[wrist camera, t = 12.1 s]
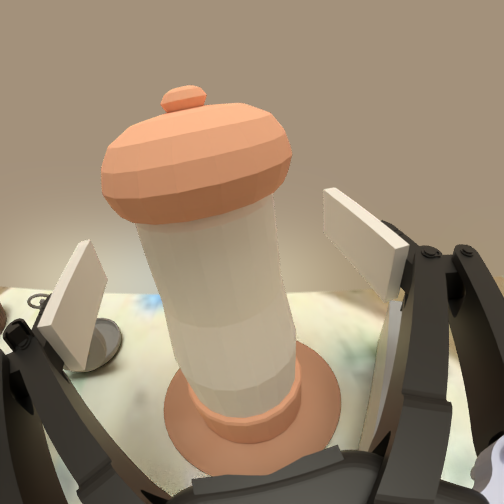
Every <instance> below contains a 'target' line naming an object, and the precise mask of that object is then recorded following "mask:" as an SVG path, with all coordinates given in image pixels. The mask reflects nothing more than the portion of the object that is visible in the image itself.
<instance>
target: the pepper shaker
mask: <svg viewBox="0 0 504 504" xmlns="http://www.w3.org/2000/svg"><path fill="white" fill-rule="evenodd" d="M206 96H207V95H206V94H205V92H204V91H203V90H202V89H201V88H200V87H196V86H192V85H190V86H184V87H178V88H175V89H172V90H170V91H169V92H167V93H166V94H165V95H164V96H163V99H162V102H161V106H162V107H163V109H164V110H165V111H166V112H167V113H166V114H163V115H160V116H157V117H154V118H151V119H148V120H145V121H142V122H140V123H137V124H134V125H132V126H130V127H129V128H128V129H127V130H125V131H124V132H123V133H122V134H121V135H120V136H119V137H118V138H117V139H116V140H114V141H113V142H112V143H111V144H110V145H109V146H108V148H107V151H106V154H105V157H104V160H103V163H102V167H101V184H102V194H103V196H104V197H105V199H106V200H107V202H108V203H109V205H110V206H111V207H112V209H113V210H114V211H116V213H117V214H118V215H119V216H120V217H122V218H124V219H126V220H128V221H130V222H132V223H135V225H136V228H137V231H138V235H139V238H140V241H141V243H142V247H143V250H144V253H145V256H146V258H147V261H148V264H149V267H150V270H151V273H152V276H153V278H154V281H155V284H156V287H157V289H158V292H159V294H160V297H161V300H162V302H163V307H164V312H165V317H166V322H167V326H168V331H169V335H170V339H171V344H172V348H173V352H174V356H175V359H176V361H177V363H178V365H179V367H180V369H181V371H182V373H183V374H184V376H185V378H186V379H187V381H188V390H189V395H190V397H191V399H192V401H193V403H194V404H195V406H196V408H197V410H198V411H199V413H200V414H201V416H202V418H203V419H204V421H205V422H206V424H207V425H208V427H209V428H210V429H211V430H212V431H214V432H215V433H216V434H217V435H219V436H220V437H222V438H224V439H227V440H229V441H232V442H235V443H246V444H255V443H259V442H263V441H267V440H271V439H273V438H274V437H276V436H278V435H279V434H281V433H283V432H284V431H286V429H287V428H288V427H289V426H290V425H291V424H292V423H293V421H294V420H295V419H296V417H297V414H298V412H299V409H300V406H301V366H300V364H299V361H298V359H297V357H296V329H295V325H294V322H293V318H292V314H291V310H290V307H289V303H288V299H287V295H286V292H285V289H284V284H283V281H282V277H281V270H280V259H279V247H278V236H277V227H276V216H275V206H274V197H273V193H274V192H275V191H276V190H277V189H278V188H279V186H280V185H281V184H282V183H283V182H284V180H285V177H286V175H287V173H288V170H289V166H290V161H291V157H292V150H291V146H290V143H289V141H288V138H287V135H286V132H285V130H284V128H283V127H282V126H281V125H280V124H279V123H278V121H277V120H276V119H275V118H274V117H273V115H272V114H271V113H270V112H267V111H264V110H261V109H259V108H256V107H253V106H250V105H247V104H244V103H231V104H217V105H206V106H203V105H204V102H205V99H206Z"/></svg>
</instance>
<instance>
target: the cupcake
mask: <svg viewBox="0 0 504 504" xmlns="http://www.w3.org/2000/svg"><path fill="white" fill-rule="evenodd" d="M6 322H7V318H6V314H5V312H4V310H3V308H2V305H1V303H0V334H1V333H2V331H3V329H4V327H5V325H6Z"/></svg>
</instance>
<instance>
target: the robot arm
mask: <svg viewBox="0 0 504 504" xmlns="http://www.w3.org/2000/svg"><path fill="white" fill-rule="evenodd" d="M323 208H324V209H323V215H324V219H323V223H324V224H323V233H324V234H325V235H326V236H327V237H328V238H329V239H330V240H331V241H332V243H333V244H334V245H335V246H336V247H337V248H338V249H339V250H340V251H341V253H342V254H343V255H344V256H345V257H346V258H347V259H348V260H349V262H350V263H351V264H352V265H353V266H354V267H355V269H356V270H357V271H358V272H359V273H360V274H361V276H362V277H363V278H364V279H365V280H366V281H367V283H368V284H369V285H370V286H371V287H372V289H373V290H374V291H375V292H376V293H377V295H378V296H379V297H380V298H381V299H382V301H383V302H384V303H385V302H387V301H390V300H393V299H396V298H398V294H399V290H400V287H401V288H402V289H403V290H404V291H405V295H404V299H403V302H402V306H401V309H400V311H402V316H401V323H400V330H399V336H398V343H397V348H396V354H395V359H394V364H393V369H392V374H391V379H390V383H389V387H388V392H387V396H386V400H385V404H384V407H383V411H382V415H381V418H380V422H379V425H378V428H377V431H376V434H375V436H374V438H373V440H372V442H371V445H370V447H369V450H368V452H367V451H360V450H343V451H340V449H339V447H338V445H336V446H333V447H330V448H327V449H325V450H322V451H319V452H316V453H313V454H310V455H306V456H303V457H301V458H300V459H298V460H296V461H294V462H293V463H291V464H289V465H287V466H285V467H283V468H281V469H279V470H277V471H276V472H274V473H272V474H269V475H229V474H227V475H220V476H213V477H206V478H197V479H192V485H193V486H191V487H188V488H186V489H184V490H182V491H180V492H179V493H177V494H176V495H174V496H173V497H171V496H170V495H168V494H167V493H166V492H165V491H163V490H162V489H160V488H159V487H158V486H156V485H155V484H154V483H153V482H152V481H151V480H150V479H149V478H148V477H147V476H146V475H145V474H144V473H143V472H142V471H141V470H140V469H139V468H138V467H137V466H136V465H135V464H134V463H133V462H132V461H131V460H130V459H129V458H128V457H127V455H126V454H125V453H124V452H123V451H122V450H121V449H120V447H119V446H118V445H117V444H116V443H115V442H114V440H113V439H112V438H111V437H110V436H109V434H108V433H107V432H106V431H105V429H104V428H103V427H102V425H101V424H100V423H99V422H98V420H97V419H96V418H95V416H94V415H93V413H92V412H91V411H90V409H89V408H88V407H87V405H86V404H85V402H84V401H83V399H82V398H81V396H80V395H79V393H78V392H77V390H76V389H75V387H74V386H73V384H72V383H71V381H70V379H69V378H68V376H67V375H66V374H65V372H64V371H63V366H64V363H65V365H66V366H67V367H68V368H69V369H70V371H71V372H72V371H83V370H85V367H86V362H87V357H88V353H89V348H90V344H91V339H92V335H93V331H94V327H95V323H96V319H97V315H98V312H99V308H100V304H101V301H102V297H103V294H104V290H105V287H106V284H107V281H108V279H107V277H106V275H105V272H104V270H103V268H102V266H101V263H100V261H99V259H98V256H97V254H96V251H95V249H94V247H93V244H92V242H91V239H90V240H86V241H82V242H79V244H78V245H77V247H76V249H75V251H74V253H73V254H72V256H71V258H70V260H69V261H68V263H67V265H66V267H65V269H64V271H63V273H62V275H61V277H60V279H59V281H58V283H57V285H56V287H55V289H54V291H53V293H51V294H50V295H49V296H48V297H47V299H46V300H45V301H44V303H43V305H42V307H41V310H40V312H39V314H38V315H39V316H37V318H36V321H35V323H34V325H33V328H32V330H31V329H30V328H29V326H28V325H27V323H26V322H25V321H24V320H23V319H20V318H19V319H16V320H14V321H13V322H11V323H10V324H9V325H8V326H7V327H6V329H5V331H4V333H3V339H4V340H5V342H6V343H7V344H8V346H9V347H10V348H11V349H12V351H13V352H12V353H9V354H7V355H5V354H4V352H3V351H2V350H1V349H0V504H68V502H67V500H66V498H65V495H64V493H63V490H62V488H61V485H60V482H59V480H58V477H57V474H56V471H55V468H54V465H53V462H52V459H51V455H50V452H49V449H48V445H47V441H46V438H45V434H44V430H43V426H44V428H45V430H46V432H47V434H48V436H49V437H50V439H51V441H52V443H53V445H54V447H55V448H56V450H57V452H58V454H59V455H60V457H61V459H62V460H63V462H64V463H65V465H66V467H67V468H68V470H69V471H70V473H71V474H72V476H73V477H74V479H75V480H76V482H77V484H78V485H79V489H78V490H77V495H78V497H79V499H80V500H81V502H82V503H83V504H504V297H503V295H502V293H501V292H500V290H499V288H498V286H497V284H496V282H495V280H494V279H493V277H492V275H491V273H490V272H489V270H488V268H487V267H486V265H485V263H484V262H483V260H482V258H481V257H480V255H479V254H478V252H477V251H476V250H475V249H474V248H472V247H471V246H468V245H457V246H455V249H454V252H453V255H442V253H441V252H440V251H439V250H438V249H436V248H434V247H431V246H418V245H417V244H416V243H415V242H414V241H412V240H411V239H410V238H409V237H407V236H406V235H405V234H404V233H403V232H401V231H400V230H398V229H397V228H396V227H395V226H394V225H392V224H390V223H388V222H385V221H383V220H382V221H380V220H378V219H377V218H376V217H374V216H373V215H372V214H370V213H369V212H368V211H366V210H365V209H364V208H363V207H361V206H360V205H359V204H357V203H356V202H355V201H353V200H352V199H350V198H349V197H348V196H346V195H345V194H343V193H342V192H341V191H339V190H338V189H337V188H329V189H324V190H323ZM449 325H450V328H451V332H452V335H453V339H454V342H455V346H456V350H457V354H458V358H459V362H460V366H461V371H462V376H463V380H464V385H465V391H466V396H467V402H468V408H469V415H470V423H471V431H472V437H473V443H474V447H475V451H476V455H477V459H476V462H475V466H474V467H473V468H472V470H471V473H470V476H471V478H472V479H473V480H474V481H475V482H474V486H473V488H472V489H470V488H466V487H463V486H460V485H456V484H453V483H450V482H447V481H444V480H441V479H440V478H441V474H442V470H443V466H444V461H445V456H446V451H447V446H448V440H449V434H450V427H451V419H452V404H451V402H448V401H447V400H446V392H447V380H448V361H449ZM42 424H43V425H42Z"/></svg>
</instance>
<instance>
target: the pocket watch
mask: <svg viewBox="0 0 504 504" xmlns="http://www.w3.org/2000/svg"><path fill="white" fill-rule="evenodd" d="M40 296H42V297H48V296H49V295H47V294H35V295H33V296H31V297H29V299H28V301H27V303H28V305H29V306H30V307H32V308H36V309H40V310H41V307H42V305H43V303H44V301H45V300H44V299H41V300H40V302H39V303H40V306H35V305H32V304H31V303H30V301H31V299H32V298H35V297H40ZM120 343H121V332H120V330H119V327H118V326H117V324H116V323H115V322H114V321H112V320H110V319H105V318H97V319H96V323H95V327H94V331H93V335H92V339H91V344H90V348H89V353H88V357H87V362H86V367H85V370H83V371H73V372H88V371H92V370H94V369H96V368H98V367H100V366H102V365H104V364H105V363H106V362H108V361H109V360H110V359H111V358H112V357H113V356H114V355H115V354H116V352H117V350H118V348H119V346H120ZM63 369H65V370H69V371H70V369H69V368H68V367H67V366H66V365H65V363H64V366H63Z"/></svg>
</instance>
